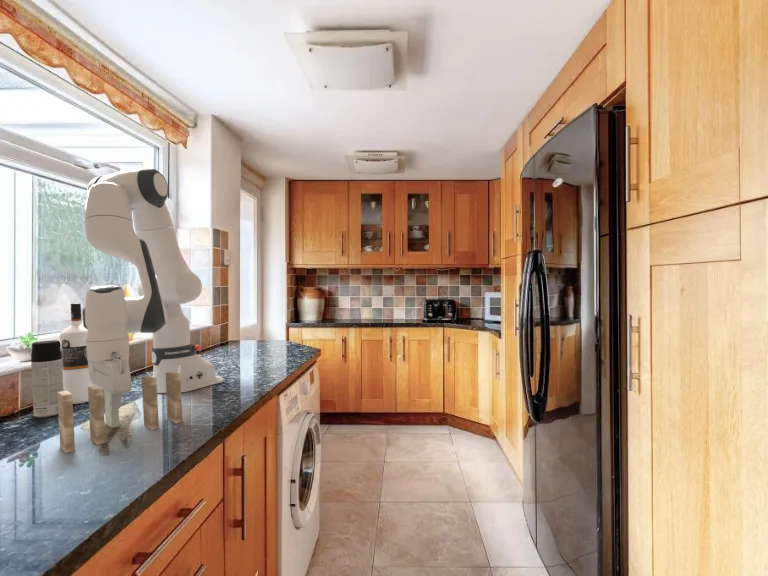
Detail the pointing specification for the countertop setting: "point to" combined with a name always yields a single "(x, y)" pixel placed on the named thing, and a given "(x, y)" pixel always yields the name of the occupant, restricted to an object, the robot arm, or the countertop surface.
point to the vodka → (75, 358)
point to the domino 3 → (110, 412)
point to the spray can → (46, 377)
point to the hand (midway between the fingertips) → (111, 406)
